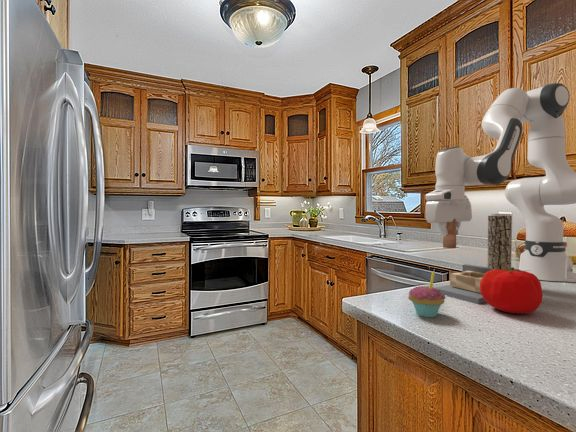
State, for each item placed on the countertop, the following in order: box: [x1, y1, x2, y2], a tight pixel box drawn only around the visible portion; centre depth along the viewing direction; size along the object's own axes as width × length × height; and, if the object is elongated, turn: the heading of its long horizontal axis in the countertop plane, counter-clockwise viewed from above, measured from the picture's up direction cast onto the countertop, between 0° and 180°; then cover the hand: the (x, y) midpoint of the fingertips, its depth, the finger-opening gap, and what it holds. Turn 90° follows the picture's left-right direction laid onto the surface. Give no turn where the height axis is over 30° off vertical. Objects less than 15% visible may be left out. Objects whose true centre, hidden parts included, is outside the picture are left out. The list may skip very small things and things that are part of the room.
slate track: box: [434, 263, 494, 305], centre depth 97 cm, size 18×14×8 cm
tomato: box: [480, 266, 544, 314], centre depth 81 cm, size 12×13×12 cm
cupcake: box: [408, 268, 446, 318], centre depth 79 cm, size 9×8×12 cm
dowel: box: [442, 218, 457, 249], centre depth 105 cm, size 4×4×10 cm
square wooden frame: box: [449, 270, 485, 293], centre depth 98 cm, size 10×10×4 cm
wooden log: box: [487, 213, 513, 269], centre depth 107 cm, size 7×7×25 cm
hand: (449, 235), depth 105 cm, fingers closed on dowel, 4 cm apart
